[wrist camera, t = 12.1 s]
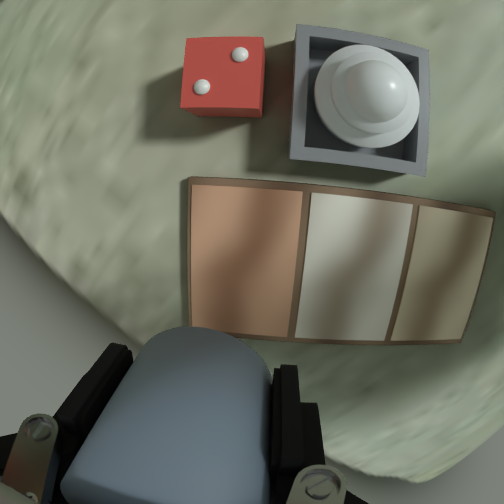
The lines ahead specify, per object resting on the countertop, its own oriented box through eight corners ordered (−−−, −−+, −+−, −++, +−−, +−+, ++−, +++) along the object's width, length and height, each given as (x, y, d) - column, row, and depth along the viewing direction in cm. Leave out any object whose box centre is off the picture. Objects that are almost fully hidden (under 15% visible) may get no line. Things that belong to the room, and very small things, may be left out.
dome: (408, 64, 16) (439, 45, 12) (405, 155, 18) (438, 156, 14) (314, 46, 16) (324, 18, 12) (309, 141, 18) (320, 137, 14)
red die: (265, 58, 19) (263, 36, 14) (262, 117, 20) (258, 108, 16) (202, 58, 19) (185, 37, 15) (198, 116, 20) (179, 107, 16)
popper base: (411, 60, 18) (428, 50, 15) (407, 173, 20) (425, 177, 18) (294, 39, 18) (296, 24, 15) (287, 158, 21) (289, 159, 18)
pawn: (282, 336, 10) (280, 655, 1) (263, 437, 11) (247, 645, 3) (131, 315, 10) (-35, 543, 1) (144, 417, 11) (65, 598, 3)
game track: (490, 210, 20) (496, 212, 20) (456, 338, 24) (461, 343, 23) (191, 176, 22) (187, 177, 21) (191, 327, 25) (188, 332, 24)
